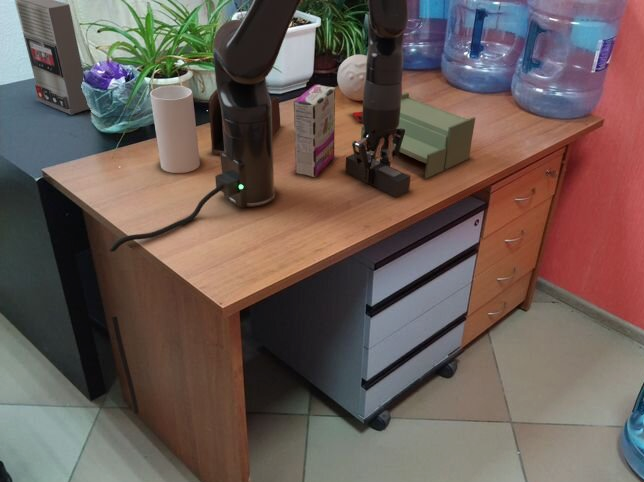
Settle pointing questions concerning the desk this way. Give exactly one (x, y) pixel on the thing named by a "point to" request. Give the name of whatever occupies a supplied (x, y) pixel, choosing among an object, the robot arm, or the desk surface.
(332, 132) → the candy bar box
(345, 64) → the decorative ball
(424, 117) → the step shelf
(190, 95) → the cup
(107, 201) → the desk surface
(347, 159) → the remote
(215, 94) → the letter holder
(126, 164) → the desk surface
